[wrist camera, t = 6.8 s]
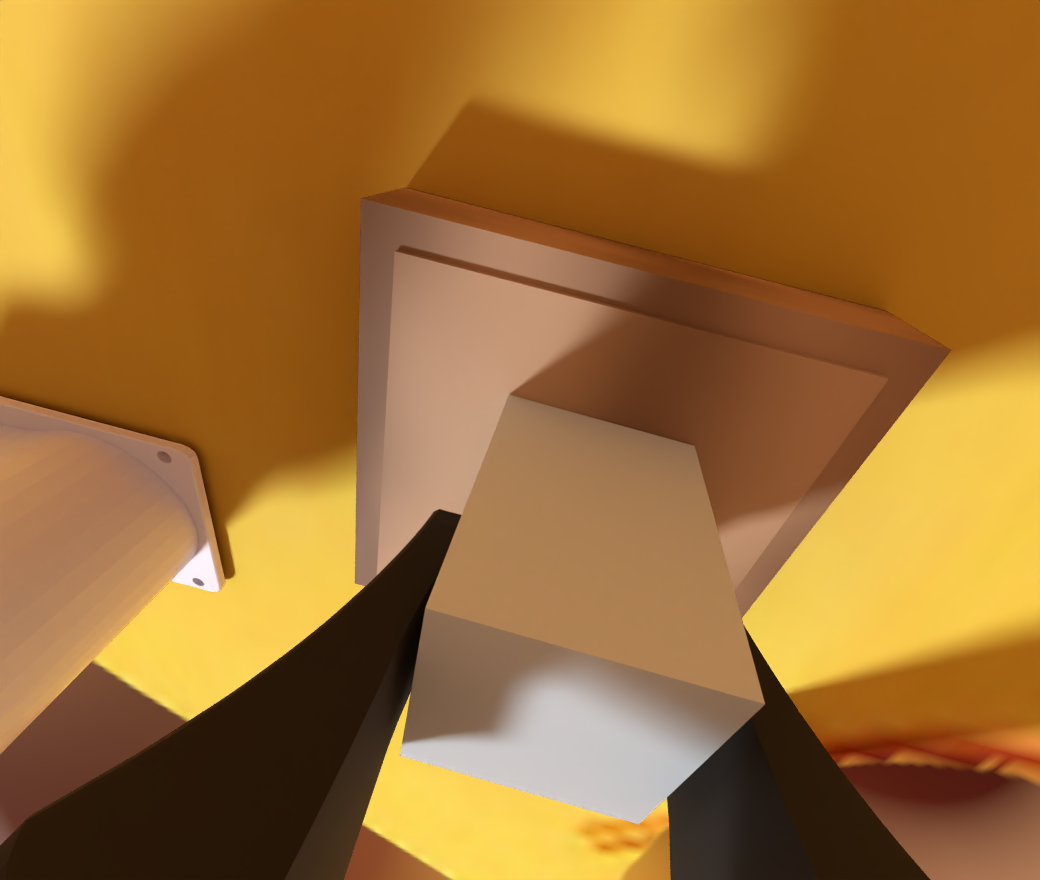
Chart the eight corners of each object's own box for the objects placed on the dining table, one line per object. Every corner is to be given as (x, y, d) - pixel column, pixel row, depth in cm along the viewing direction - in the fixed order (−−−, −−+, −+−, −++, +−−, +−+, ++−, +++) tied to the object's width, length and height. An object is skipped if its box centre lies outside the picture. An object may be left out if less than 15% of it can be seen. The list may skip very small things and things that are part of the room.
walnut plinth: (383, 532, 18) (353, 586, 16) (405, 187, 11) (357, 199, 9) (686, 612, 18) (698, 679, 16) (886, 311, 11) (955, 353, 9)
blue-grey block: (477, 527, 14) (399, 755, 9) (508, 394, 11) (424, 608, 6) (628, 570, 13) (638, 824, 8) (694, 446, 11) (765, 704, 6)
